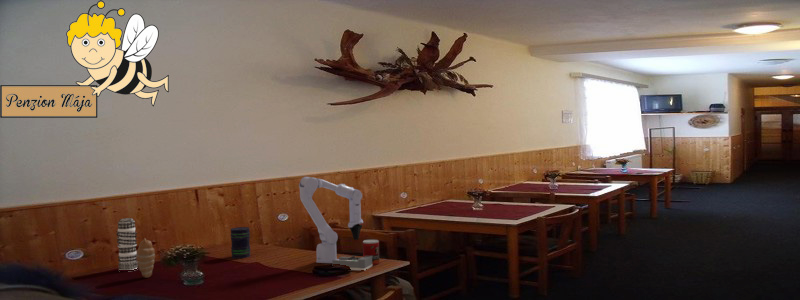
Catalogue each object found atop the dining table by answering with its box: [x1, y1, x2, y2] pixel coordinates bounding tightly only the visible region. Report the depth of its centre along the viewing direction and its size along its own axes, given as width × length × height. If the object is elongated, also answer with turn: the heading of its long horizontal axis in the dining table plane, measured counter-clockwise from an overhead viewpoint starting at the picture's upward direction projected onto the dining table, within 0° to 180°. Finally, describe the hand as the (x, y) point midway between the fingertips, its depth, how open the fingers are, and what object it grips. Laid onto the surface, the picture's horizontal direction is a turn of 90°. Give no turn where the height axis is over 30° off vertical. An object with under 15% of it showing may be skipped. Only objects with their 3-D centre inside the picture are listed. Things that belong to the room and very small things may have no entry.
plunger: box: [348, 255, 359, 261], centre depth 279 cm, size 4×7×4 cm
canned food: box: [362, 239, 380, 266], centre depth 288 cm, size 8×8×11 cm
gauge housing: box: [332, 255, 374, 271], centre depth 280 cm, size 17×10×5 cm, turn 71°
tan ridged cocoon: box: [136, 237, 156, 279], centre depth 272 cm, size 9×8×18 cm
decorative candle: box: [116, 217, 139, 271], centre depth 290 cm, size 9×9×25 cm
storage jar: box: [230, 226, 251, 259], centre depth 315 cm, size 10×10×15 cm
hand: (356, 239), depth 302 cm, fingers closed
